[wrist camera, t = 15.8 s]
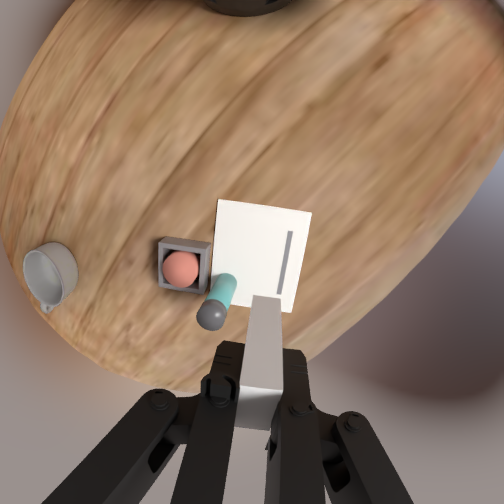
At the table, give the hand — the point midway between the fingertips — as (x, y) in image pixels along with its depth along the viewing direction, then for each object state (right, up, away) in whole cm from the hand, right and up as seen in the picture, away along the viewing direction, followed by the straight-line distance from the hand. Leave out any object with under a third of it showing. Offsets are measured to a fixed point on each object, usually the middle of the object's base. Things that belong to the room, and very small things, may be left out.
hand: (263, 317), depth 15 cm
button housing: (-11, +2, +26) cm, 28 cm away
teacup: (-37, 0, +29) cm, 47 cm away
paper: (0, +3, +25) cm, 25 cm away
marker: (-4, -1, +26) cm, 27 cm away
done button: (-11, +2, +25) cm, 28 cm away
